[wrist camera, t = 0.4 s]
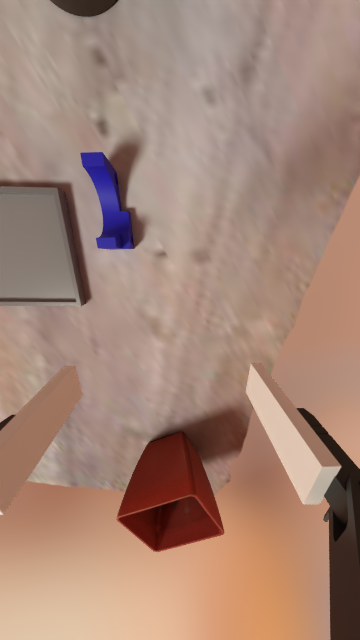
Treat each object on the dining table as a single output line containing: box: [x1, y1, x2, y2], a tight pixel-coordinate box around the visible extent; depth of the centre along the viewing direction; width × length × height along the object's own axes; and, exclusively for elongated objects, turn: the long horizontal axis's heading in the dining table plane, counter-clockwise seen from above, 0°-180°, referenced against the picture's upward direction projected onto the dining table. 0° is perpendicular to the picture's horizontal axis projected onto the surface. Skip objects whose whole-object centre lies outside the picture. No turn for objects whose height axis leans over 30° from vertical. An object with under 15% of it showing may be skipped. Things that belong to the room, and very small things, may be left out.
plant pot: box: [117, 432, 224, 552], centre depth 46 cm, size 19×19×17 cm
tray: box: [0, 186, 86, 306], centre depth 32 cm, size 20×20×2 cm
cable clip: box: [80, 152, 134, 249], centre depth 28 cm, size 12×4×6 cm, turn 1°
